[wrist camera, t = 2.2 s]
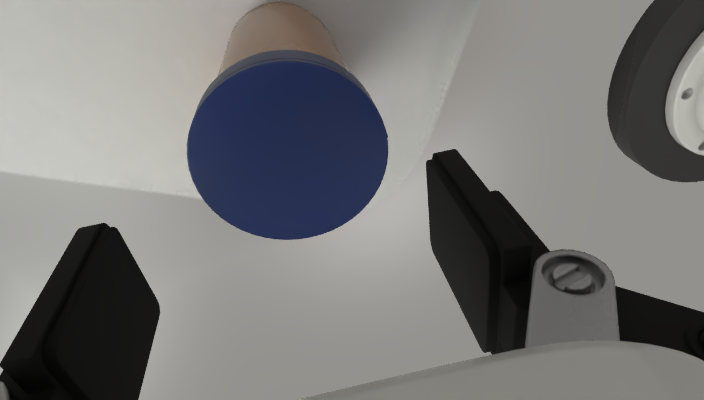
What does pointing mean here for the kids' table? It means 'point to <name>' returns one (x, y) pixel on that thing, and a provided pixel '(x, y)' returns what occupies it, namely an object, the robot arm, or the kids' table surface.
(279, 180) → the lid
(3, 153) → the kids' table surface
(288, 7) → the jar
